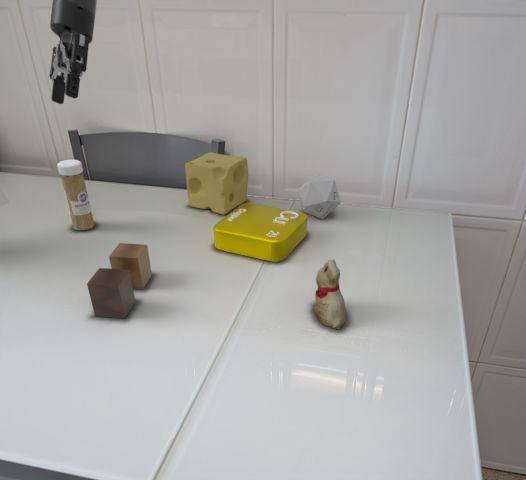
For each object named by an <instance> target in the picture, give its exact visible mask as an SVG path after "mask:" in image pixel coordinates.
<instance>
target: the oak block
mask: <svg viewBox="0 0 526 480" xmlns="http://www.w3.org/2000/svg"><path fill="white" fill-rule="evenodd" d="M108 258H109V264H110V269H123V270H130V275H131V280H132V286H133V290H144V289H145V287H146V285H147V284H148V282H149V281H150V279H151V277H152V276H153V273H152V267H151V260H150V253H149V248H148V244H142V243H127V242H126V243H124V242H119V243H118V244H117V246H115V248H114V249H113V251H112V252H110V254H109V256H108Z"/></svg>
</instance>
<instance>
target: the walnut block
mask: <svg viewBox="0 0 526 480" xmlns="http://www.w3.org/2000/svg"><path fill="white" fill-rule="evenodd" d="M86 287H87V290H88V294H89V298H90V303H91V305H92V309H93V314H94V317H98V318H109V319H110V318H111V319H122V320H124V319H126V318H127V316H128V315H129V313H131V312H130V311H131V310H132V308H133V307H134V305H135V303H136V296H135V292H134V289H133V286H132V280H131V275H130V270H123V269H111V268H106V267H99V268H98V269H97V270H96V271H95V273H94V274H93V275H92V277H91V278H90V279H89V280H88V282H87V283H86Z"/></svg>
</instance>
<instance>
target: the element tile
mask: <svg viewBox="0 0 526 480" xmlns="http://www.w3.org/2000/svg"><path fill="white" fill-rule="evenodd" d="M307 230H308V214H307V213H305V212H301V211H296V210H291V209H285V208H280V207H276V206H270V205H264V204H259V203H253V202H244V203H242V204H240V205H238V206H237V207H236V208H234V209H233V211H230V212H229V214H228V215H226V216H225V217H223V218H222V219H221V220H219V221H218V222H216V224H214V226H213V242H214V243H213V244H214V247H215V249H217V250H219V251H222V252H227V253H231V254H236V255H241V256H243V257H244V256H245V257H250V258H254V259H258V260H263V261H268V262H272V263H273V262H274V263H275V262H276V263H277V262H278V263H279V262H282V261H284V260H285V259H286V258H287V257H288V256H289V255H290V254H291V253H292V251H293V250H294V249H296V248H297V246H298V245H299V244H300V243H301V242H302V241H303V239H305V237H306V236H307V232H308V231H307Z"/></svg>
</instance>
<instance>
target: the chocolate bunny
mask: <svg viewBox="0 0 526 480" xmlns="http://www.w3.org/2000/svg"><path fill="white" fill-rule="evenodd" d="M340 278H341V269H339V267H338V266H337V262H336V260H335V259H329V260H327V261H326V262H325V263H324V265H323V266H322V267H320V268H318V269H317V273H316V277H315V282H316V284H317V289H316V290H315V292H314V293H315V294H314V297H315V307H314V315H315V316H316V318H317V319H318V321H319V322H320V323H321V324H322V325H324V326H325V327H329V328H332V329H334V330H340V329H341V327H342V326H343V325H344V324H345V323H346V320H347V319H346V318H347V310H346V302H345V298H344V296H343V294H342V292H341V289H340Z"/></svg>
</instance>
